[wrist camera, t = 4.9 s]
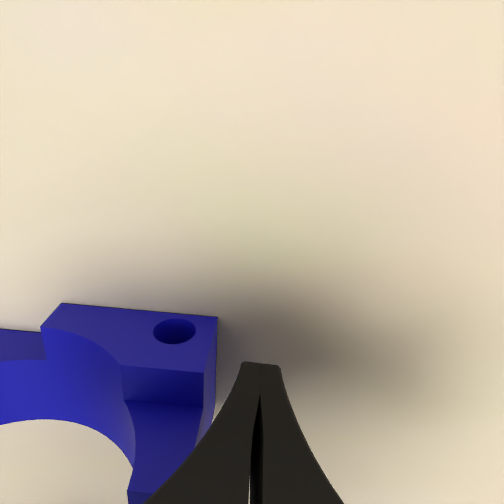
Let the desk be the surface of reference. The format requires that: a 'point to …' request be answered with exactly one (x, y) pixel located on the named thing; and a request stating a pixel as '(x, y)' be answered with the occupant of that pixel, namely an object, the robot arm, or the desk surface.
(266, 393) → the robot arm
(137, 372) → the cable clip
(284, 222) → the desk surface
